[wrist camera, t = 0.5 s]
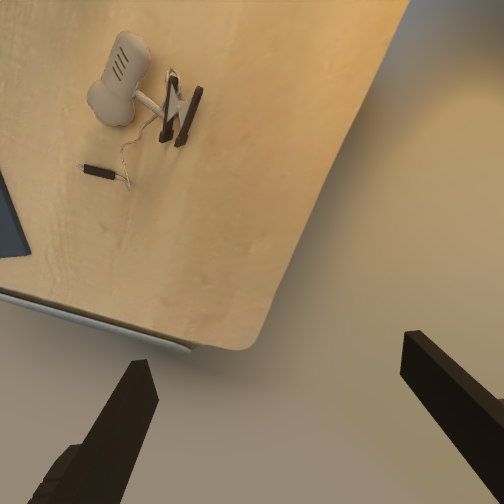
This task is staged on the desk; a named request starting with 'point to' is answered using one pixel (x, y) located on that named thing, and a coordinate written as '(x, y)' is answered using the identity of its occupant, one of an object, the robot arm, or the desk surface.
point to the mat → (10, 228)
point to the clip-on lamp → (127, 88)
